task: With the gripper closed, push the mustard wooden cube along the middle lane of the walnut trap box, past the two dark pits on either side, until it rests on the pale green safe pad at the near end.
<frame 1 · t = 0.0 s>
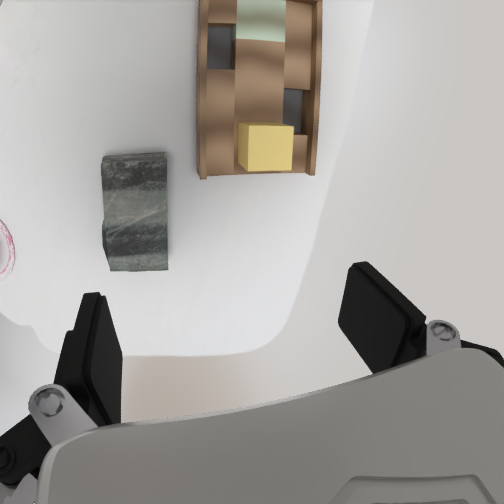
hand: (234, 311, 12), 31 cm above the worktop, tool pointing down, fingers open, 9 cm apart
stone block: (133, 206, 40), on the worktop
block: (258, 142, 37), point 2 cm above the worktop, touching trap box
trap box: (254, 79, 36), on the worktop
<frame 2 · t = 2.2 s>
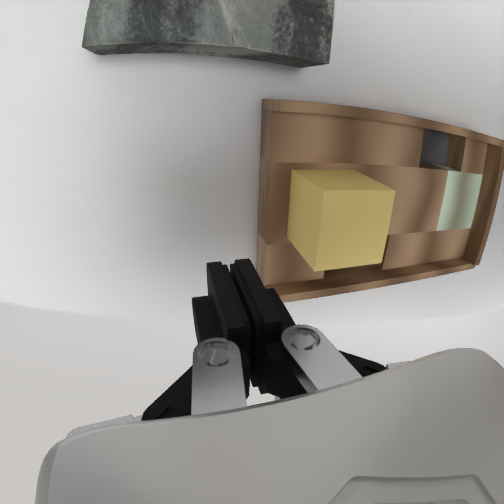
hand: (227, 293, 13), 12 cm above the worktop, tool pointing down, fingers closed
stone block: (207, 1, 17), on the worktop
block: (321, 203, 23), point 2 cm above the worktop, touching trap box
trap box: (388, 192, 27), on the worktop
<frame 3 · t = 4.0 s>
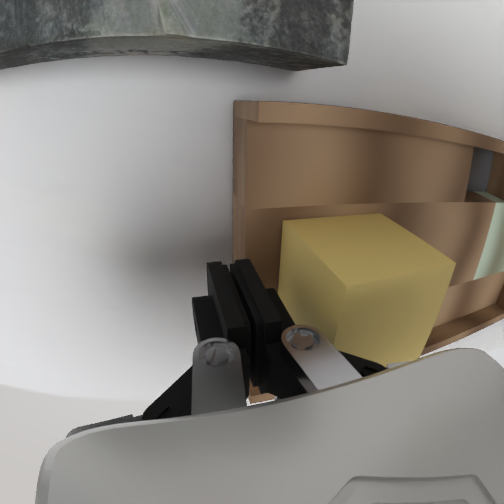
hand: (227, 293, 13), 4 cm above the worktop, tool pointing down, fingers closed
block: (329, 266, 15), point 3 cm above the worktop, touching gripper, trap box
trap box: (417, 232, 19), on the worktop
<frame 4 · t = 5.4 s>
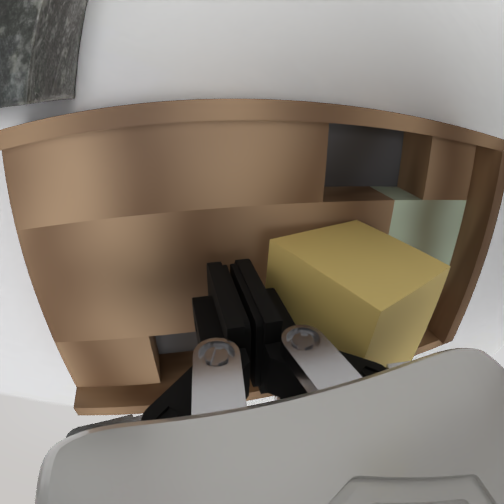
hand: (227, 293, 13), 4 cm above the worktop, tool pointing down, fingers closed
block: (310, 281, 14), point 3 cm above the worktop, tilted 19°, touching gripper
trap box: (278, 242, 17), on the worktop
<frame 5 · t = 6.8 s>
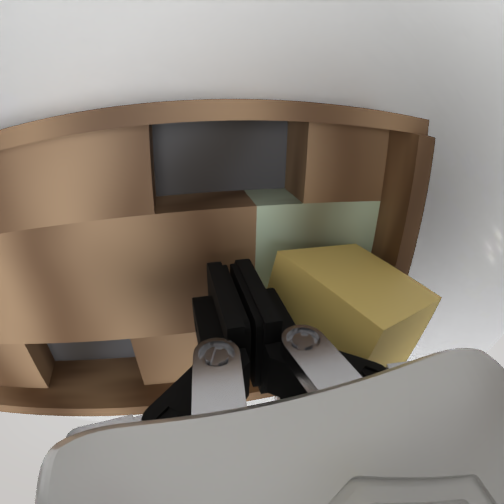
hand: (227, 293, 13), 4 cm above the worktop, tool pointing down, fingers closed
block: (305, 296, 14), point 3 cm above the worktop, tilted 20°, touching gripper, trap box
trap box: (142, 256, 15), on the worktop
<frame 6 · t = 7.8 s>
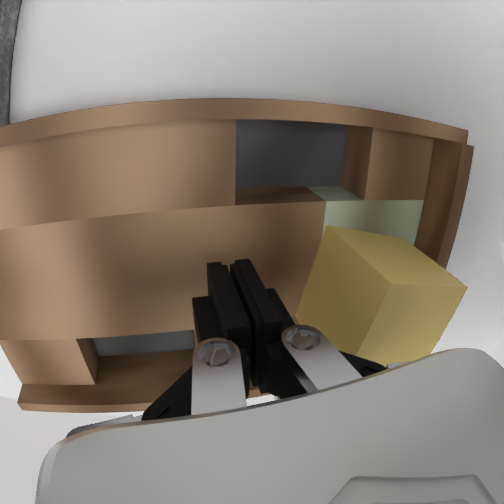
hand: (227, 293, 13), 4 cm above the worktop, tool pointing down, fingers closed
block: (351, 276, 16), point 2 cm above the worktop, touching trap box
trap box: (204, 248, 16), on the worktop
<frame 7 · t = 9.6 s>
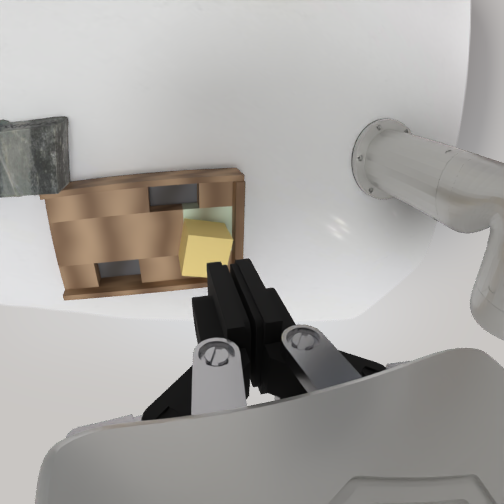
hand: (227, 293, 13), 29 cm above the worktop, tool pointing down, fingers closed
stone block: (20, 151, 30), on the worktop
block: (201, 239, 40), point 2 cm above the worktop, touching trap box
trap box: (144, 228, 40), on the worktop
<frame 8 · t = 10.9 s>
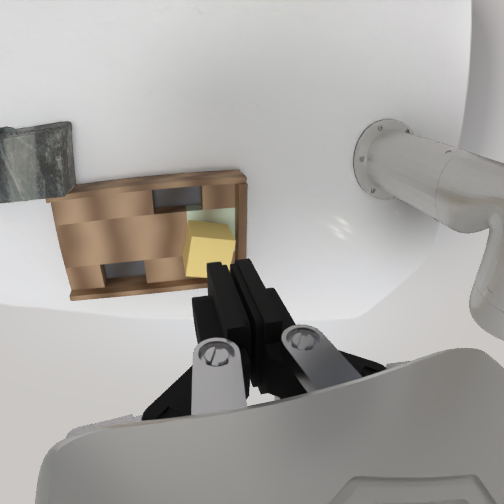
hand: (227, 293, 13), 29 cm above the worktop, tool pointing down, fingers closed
stone block: (26, 156, 32), on the worktop
block: (204, 240, 41), point 2 cm above the worktop, touching trap box
trap box: (149, 230, 41), on the worktop
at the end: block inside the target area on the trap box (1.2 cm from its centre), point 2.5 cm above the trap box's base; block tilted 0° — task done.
